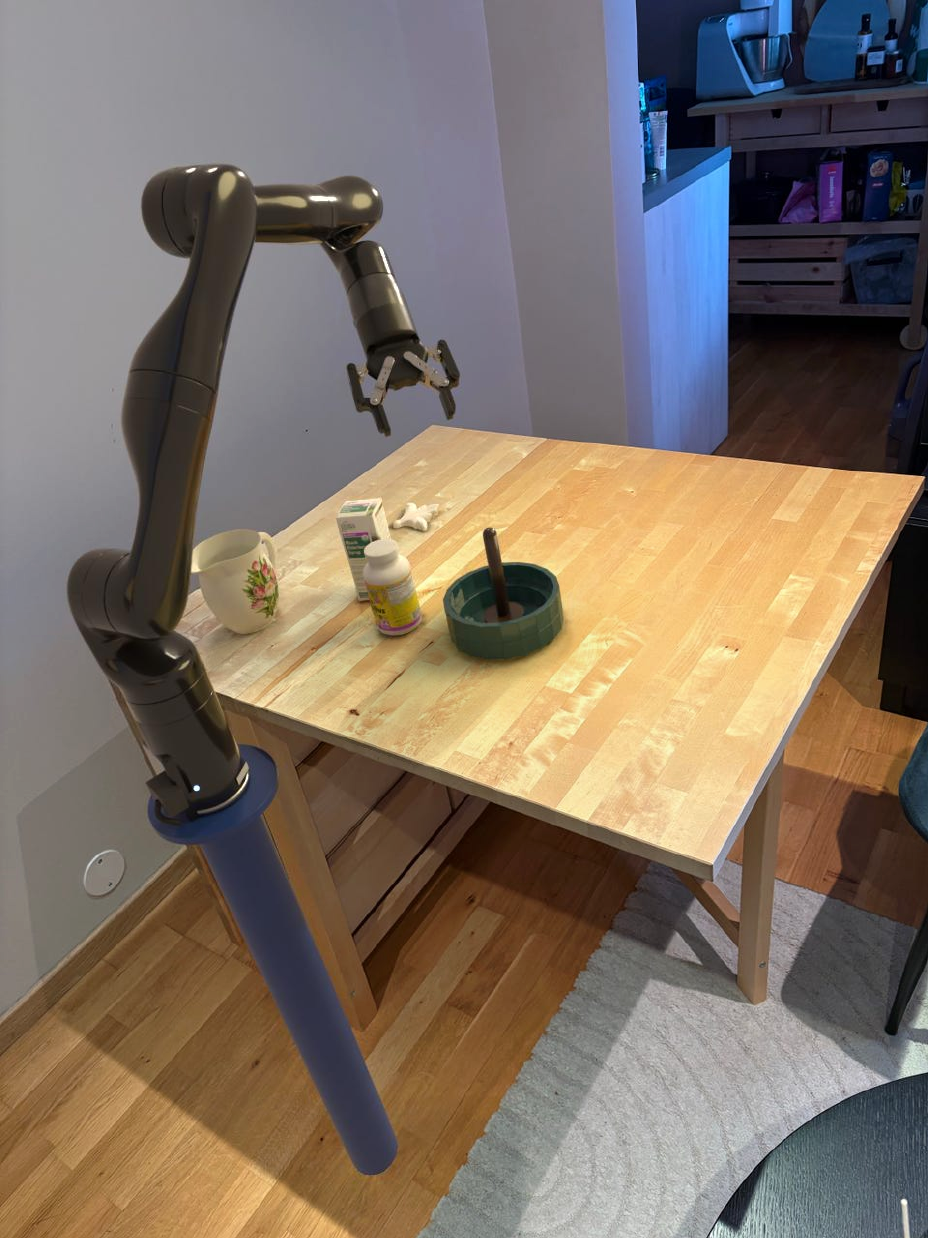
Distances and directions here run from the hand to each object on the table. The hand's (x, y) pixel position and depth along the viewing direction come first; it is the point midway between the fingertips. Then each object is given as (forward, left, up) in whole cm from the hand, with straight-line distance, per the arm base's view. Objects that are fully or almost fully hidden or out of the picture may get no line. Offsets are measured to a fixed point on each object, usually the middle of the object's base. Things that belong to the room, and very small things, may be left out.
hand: (419, 425), depth 120 cm
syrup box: (-5, +13, -28) cm, 31 cm away
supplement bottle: (-9, +3, -28) cm, 29 cm away
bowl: (-1, -11, -27) cm, 30 cm away
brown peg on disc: (-1, -11, -27) cm, 29 cm away
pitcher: (-21, +24, -28) cm, 42 cm away
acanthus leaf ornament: (+13, +26, -28) cm, 40 cm away
